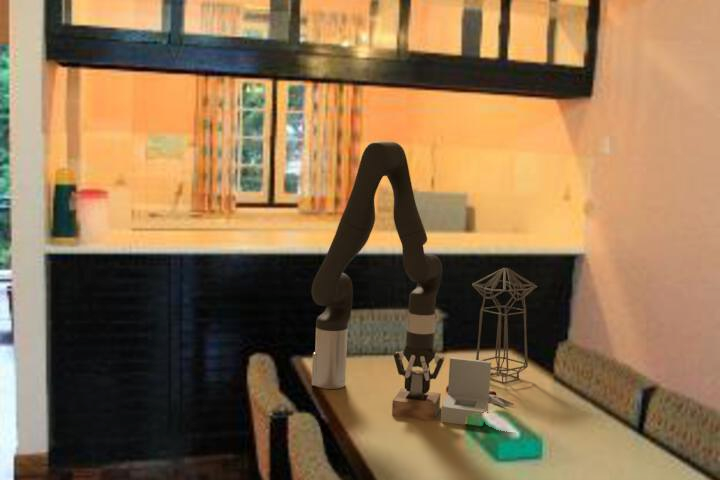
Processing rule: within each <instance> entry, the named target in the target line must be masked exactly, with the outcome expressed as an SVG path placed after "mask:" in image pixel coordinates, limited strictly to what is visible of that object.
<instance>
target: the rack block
mask: <svg viewBox="0 0 720 480" xmlns="http://www.w3.org/2000/svg"><path fill="white" fill-rule="evenodd" d="M491 367H492V361H490V360H487V361H480V359H479V360H476V359H470V358H461V357H452V356H450V358H449V371H448V382H447V383H448V385H447V386H448V392H447V395H446V397H445V399H444V401H443V402H442V405H441V407H440V408H441V409H440V410H441V411H440V422H443V423H449V424H455V425H456V424H458V425H463V426H466V425H465V422H466V417H467V415H468V414H475V413H484V412H486V411H488V412H489V391H490V388H491V386H490V385H491V379H490V378H491V375H490V374H491V372H492V370H491Z"/></svg>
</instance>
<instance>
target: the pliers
mask: <svg viewBox="0 0 720 480" xmlns="http://www.w3.org/2000/svg"><path fill="white" fill-rule="evenodd" d="M445 390H446V393H448V385H447V386H446V388H445ZM489 402H490V403H491V404H494V405H498V406H501V407H505V408H507V407H508V406H509V405H510V406H513V405H514V402H511V401H509V400H507V399H505V398H503V397H501V396H499V395H497V392H496V391H495V390H489Z"/></svg>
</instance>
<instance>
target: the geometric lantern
mask: <svg viewBox="0 0 720 480" xmlns="http://www.w3.org/2000/svg"><path fill="white" fill-rule="evenodd" d="M502 275H503V278H502V284H503V285H502V286H503V289H496V288H497V286H498V284H499V282H501V277H502ZM491 277H492V278H491ZM488 278H490V279H489V280H488V281H487V282H486V283H480V282H483V281H485V280H487V279H488ZM506 278H507V279H508V281H507V279H506ZM519 279H520V280H521V281H523V282H525V283H527V284H523V283H522V282H521V281H520V280H519ZM471 286H472V287H473V288H474V289H475V290H476V291H477V292H478V293H479V294H480V295H481V297H483V301H482V305H481V307H480V310H479V321H478V322H479V325H478V338H477V347H476V355H475V356H476V357H475V358H476V359H475V360H480V359H479V357H480V346H481V345H480V344H481V333H482V323H483V314H484V312H487V313H491V314H495V315H498V318H497V319H498V320H497V330H496V332H497V333H496V345H495V354H494V355H495V356H493V357H488V358H483V359H481V360H480V361H492V360H494V359H495V361H496V366H495V367H492V366H491V374H490V376H492V375H496V376H499V377H501V380H498V379H496V378H493V377H490V380H492V381H496V382H499V383H501V384H507V383H512V382H514V381H518V380H520V373H521V372H522V371H524V370H526V369H527V368H528V367H529V362H528V360H529V359H528V342H527V341H528V340H527V307H526V297H527V296H528V295H529V294H530V293H532V292H533V290H535V289H536V288H538V286H537V285H536V284H534V283H533V282H531V281H529V280H528V279H527V278H525V277H523V276H521V275H520V274H518V273H517V272H515V271H514V270H512V269H510V268H508V267H502V268H501V269H498V270H497V271H494V272H493V273H491V274H489V275H486V276H485V277H483V278H481V279H479V280H476V281H475V282H472V284H471ZM488 287H490V288H488ZM507 287H508V288H509V289H508V290H507V289H506V288H507ZM512 287H513V288H512ZM526 287H528V288H526ZM519 291H522V292H521V293H520V292H519ZM493 292H497V293H496V294H494V293H493ZM504 292H507V293H509V295H511V297H510V299H509V300H508V301H507V303H506V304H505V305H501V303H500V302H499V301H498V299H497V298H496V297H497V296H499V295H501V294H502V293H504ZM487 294H489V295H490V296H486V295H487ZM486 299H487V300H488V299H489V300H492V301H493V304H494V306H489V307H488V306H487V307H485V301H486ZM513 299H514V301H513V302H512V303H511V301H512V300H513ZM517 301H521V303H522V307H523V308H519V307H513V305H514V304H515V303H516V302H517ZM510 303H511V305H510ZM509 305H510V306H509ZM493 308H497V311H498V312H495V311H491V310H487V309H493ZM502 308H504V313H503V312H502V311H501V310H502ZM510 309H513V310H519V311H520V312H512V313H508V312H509V311H510ZM518 314H523V324H524V325H523V330H524V361H521V360H517V359H513V358H509V340H508V339H509V335H508V334H509V333H508V330H509V329H508V324H509V323H508V316H510V315H513V316H514V315H518ZM502 316H503V317H504V318H503V320H504V323H503V324H504V325H503V326H504V328H503V356H501V340H502V337H501V336H502ZM501 359H502V361H501ZM505 360H506V367H503V364H504V362H505ZM509 361H511V362H515V363H518V364H519V363H520V364H523V365H522V366H518V367H512V368H509ZM492 370H494V371H495V372H493V371H492ZM510 371H513V373H509V372H510ZM508 373H509V374H508ZM508 376H509V377H512V378H515V379H512V380H511V379H510V380H508V381H507V378H508ZM504 378H505V381H504Z"/></svg>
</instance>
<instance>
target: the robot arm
mask: <svg viewBox="0 0 720 480" xmlns="http://www.w3.org/2000/svg"><path fill="white" fill-rule="evenodd" d="M405 152H406V151H405V150H404V148H403V147H402V145H401V144H399V143H397V142H394V141H373V142H370V143H369V144H368V145H367V146H366V147H365V149H364V151H363V152H362V155H361V158H360V161H359V165H358V167H357V168H358V169H357V173H356V177H355V180H354V183H353V186H352V190H351V192H350V195H349V197H348V201H347V203H346V205H345V208H344V210H343V213H342V215H341V218H340V220H339V223H338V225H337V228H336V232H335V235H334V236H333V239H332V241H331V243H330V246H329V248H328V251H327V253H326V256H325V258H324V260H323V262H322V264H321V265H320V267H319V270H318V271H317V273H316V274H315V277H314V279H313V282H312V285H311V297H312V300H313V301H314V303H315V304H316V305H318V306H321V307H326V308H325V310H324V311H323V312H322V313H321V314H320V315H318V316H317V317H316V320H315V321H316V322H315V345H314V346H315V348H314V349H315V350H314V352H313V353H312V361H311V362H312V364H311V386H314V387H317V388H319V389H325V390H327V389H328V390H335V389H337V390H338V389H342V388H344V387H345V386H346V379H347V378H346V371H347V370H346V369H347V353H348V351H347V349H348V348H347V347H348V330H349V329H348V325H349V322H350V319H351V316H352V308H353V295H354V294H353V293H354V290H353V289H354V288H353V283H352V280H351V277H349V275H348V274H347V273H345V272H344V271H345V269H346V268H347V266H348V265H349V264H350V262H352V260H353V259H354V258H355V257H356V256H357V255H358V254H359V253H360V252H361V250H363V248H364V246H365V245H366V244H367V243H368V241H369V239H370V238H369V237H370V236H371V233H372V231H373V229H374V225H375V222H376V207H375V197H376V192H377V191H378V190H377V189H378V187H379V186H380V183H381V181H382V179H383V177H387V179H388V182H389V184H390V186H391V188H392V193H393V222H394V226H395V229H396V232H397V235H398V237H399V241H400V243H401V247H402V257H403V266H404V271H405V273H406V275H407V276H408V278H409V279H410V280H411V281H412V282H414V283H417V284H416V287H415V289H413V290H412V291H411V292H410V294H409V299H408V312H407V313H408V314H407V318H406V333H405V348H404V349H403V350H402V351H395V353H394V354H393V359H394V363H395V364H396V365H395V366H396V370H397V373H398V375H400V376H403V377H404V385H403V386H404V389H407V391H409V390H410V373H411V371H413V369H414V368H417V367H418V368H421V369H422V371H423V372H424V376H425V380H424V390H423V393H424V394H426V393H427V392H430V388H431V380H436V379H437V377H438V376H439V373H440V370H441V368H442V366H443V364H444V361H445V357H444V356H439V355H438V354H436V352H435V350H434V349H435V333H436V303H437V302H436V298H437V295H438V293H439V289H440V285H441V280H442V278H443V264H442V262H441V259H440V258H439V257H438V256H437V255H436V254H433V253H432V254H431V253H428V254H425V250H424V249H425V248H424V245H425V244H427V242H428V236H427V233H426V230H425V226H424V224H423V222H422V218H421V216H420V213H419V210H418V207H417V203H416V199H415V195H414V190H413V189H414V188H413V185H412V179H411V175H410V171H409V170H410V169H409V163H408V160H407V156H406V153H405ZM404 357H405V359H406V360H407V362H408V364H407V368H406V369H405V367H404V363H403V361H402V360H403V359H404ZM433 360H434V364H435V368H434V371H433V372H431V367H430V363H431V362H432V361H433Z"/></svg>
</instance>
